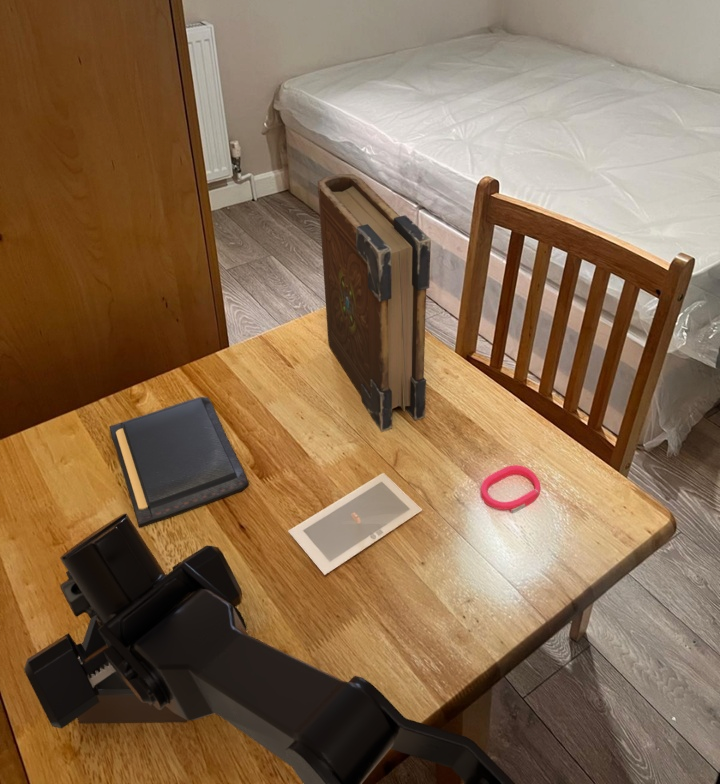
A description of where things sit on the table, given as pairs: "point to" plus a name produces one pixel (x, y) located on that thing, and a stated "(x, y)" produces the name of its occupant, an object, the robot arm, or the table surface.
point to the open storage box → (118, 694)
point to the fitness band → (517, 503)
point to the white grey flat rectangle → (354, 522)
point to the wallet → (176, 460)
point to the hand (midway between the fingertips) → (125, 620)
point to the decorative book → (375, 296)
